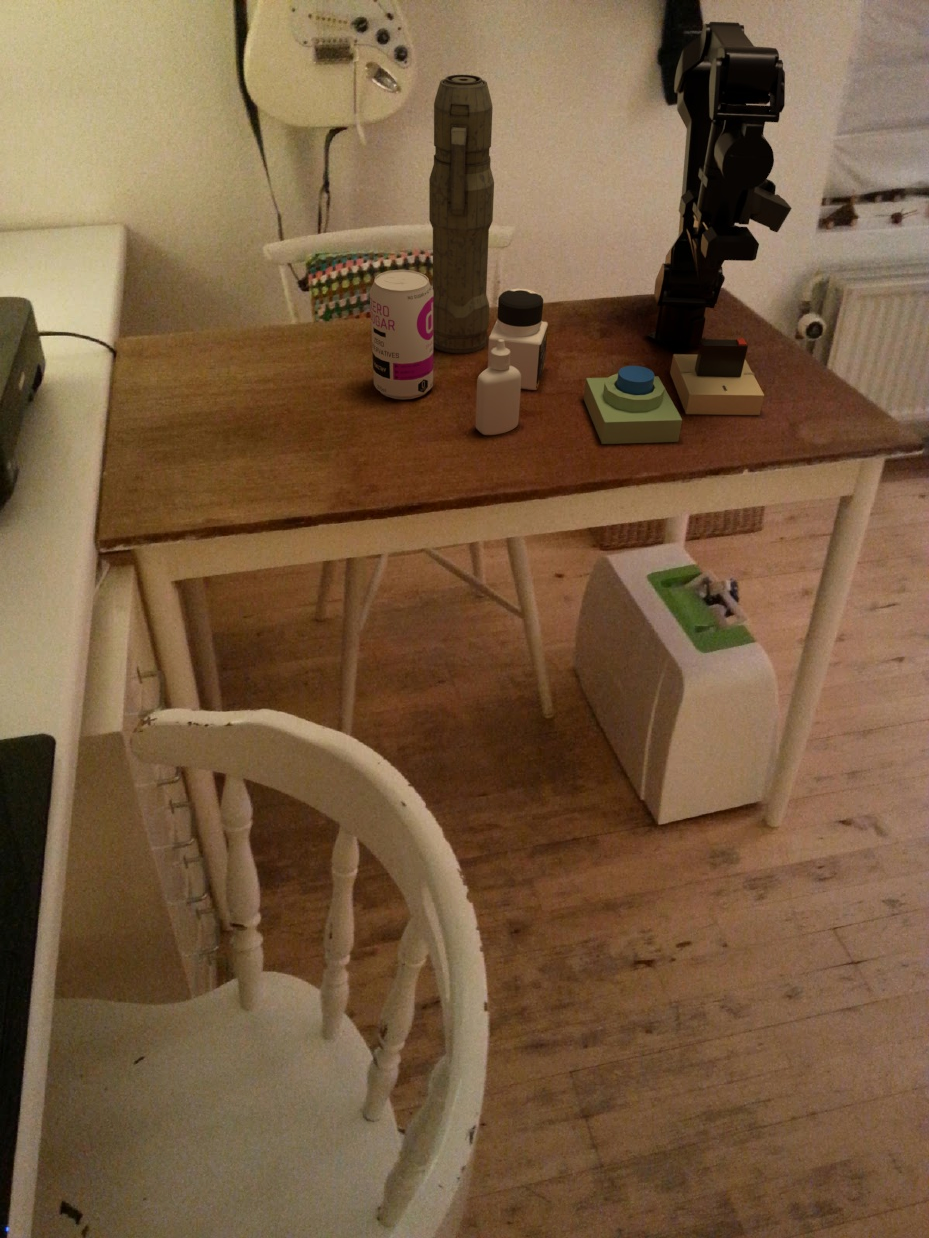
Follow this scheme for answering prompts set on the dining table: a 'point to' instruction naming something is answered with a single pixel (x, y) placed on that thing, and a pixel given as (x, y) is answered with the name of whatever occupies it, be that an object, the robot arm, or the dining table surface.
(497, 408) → the eye dropper bottle
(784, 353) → the dining table surface
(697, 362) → the dial
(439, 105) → the thermos
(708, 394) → the console
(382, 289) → the supplement can
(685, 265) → the robot arm
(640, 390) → the cylinder
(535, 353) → the medicine bottle
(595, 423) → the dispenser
